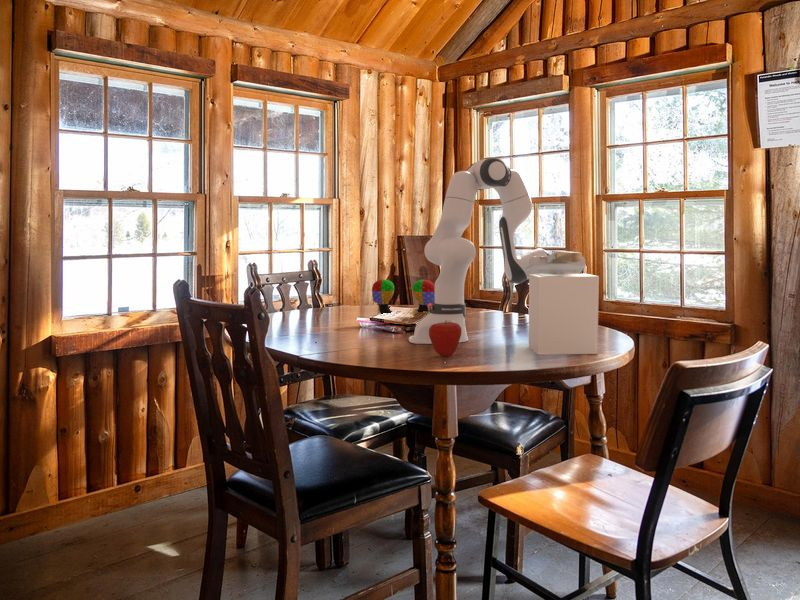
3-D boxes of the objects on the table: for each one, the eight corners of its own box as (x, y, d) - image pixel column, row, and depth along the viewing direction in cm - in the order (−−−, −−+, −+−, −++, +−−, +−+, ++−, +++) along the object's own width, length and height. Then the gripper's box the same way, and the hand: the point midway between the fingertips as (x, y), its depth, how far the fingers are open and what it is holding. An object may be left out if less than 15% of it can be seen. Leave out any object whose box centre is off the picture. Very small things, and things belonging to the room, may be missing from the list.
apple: (445, 351, 236) (445, 316, 235) (468, 355, 228) (468, 319, 227) (422, 355, 229) (421, 319, 227) (444, 360, 221) (444, 323, 219)
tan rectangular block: (570, 261, 226) (571, 252, 226) (551, 258, 250) (551, 250, 249) (581, 261, 226) (581, 252, 226) (561, 258, 250) (561, 250, 250)
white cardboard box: (538, 354, 229) (539, 276, 226) (528, 347, 243) (529, 273, 240) (597, 353, 230) (599, 275, 227) (584, 346, 243) (585, 272, 241)
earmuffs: (437, 323, 305) (436, 278, 302) (433, 326, 296) (433, 280, 294) (375, 322, 311) (374, 278, 308) (370, 325, 302) (369, 280, 300)
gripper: (523, 264, 256) (531, 246, 244) (577, 263, 257) (588, 246, 245) (525, 279, 254) (533, 262, 241) (580, 278, 255) (590, 261, 242)
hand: (561, 254), depth 243 cm, fingers closed on tan rectangular block, 3 cm apart
